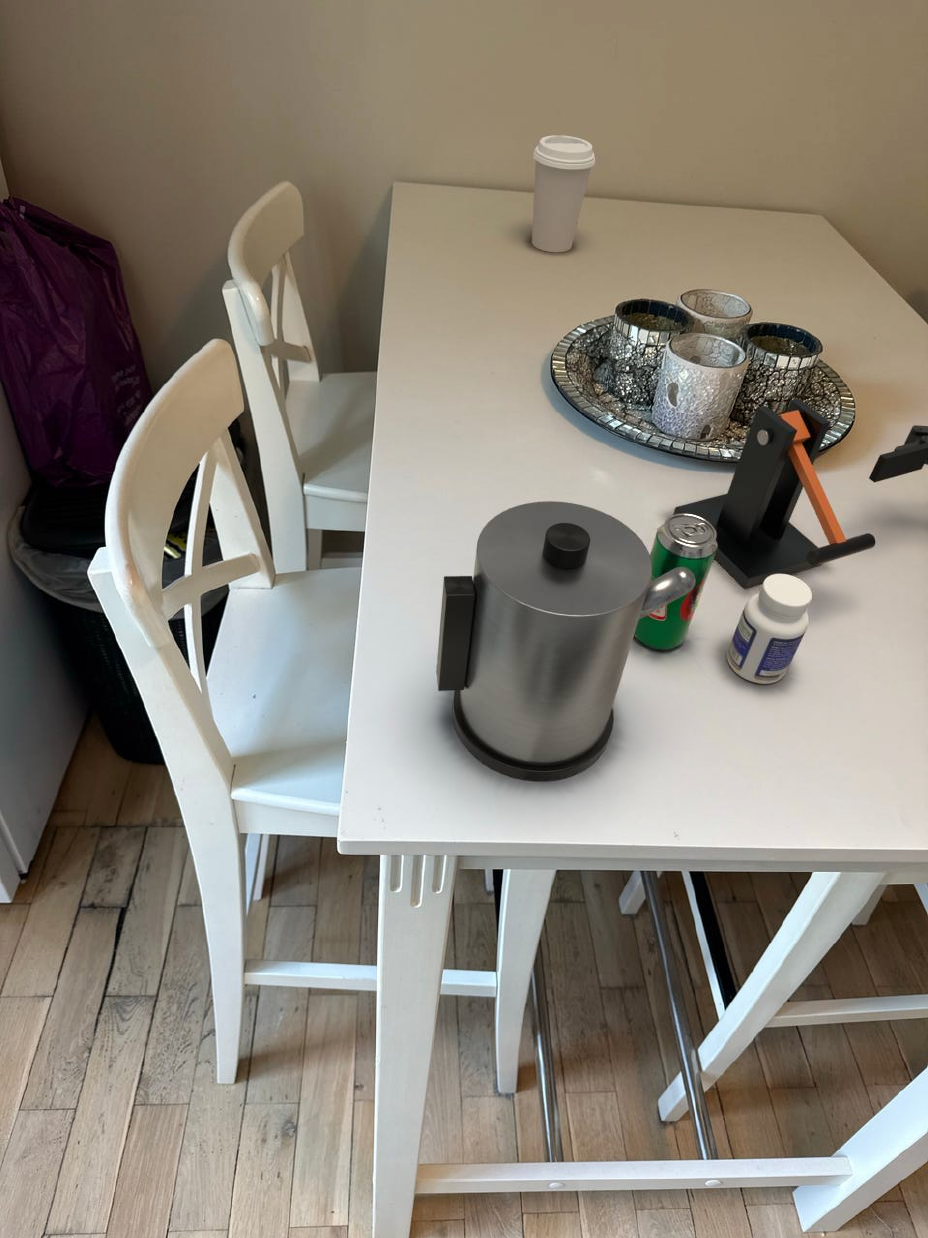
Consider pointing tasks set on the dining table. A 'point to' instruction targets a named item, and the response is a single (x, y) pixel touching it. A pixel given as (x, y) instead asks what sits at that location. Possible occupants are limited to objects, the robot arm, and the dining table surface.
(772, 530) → the switch bracket
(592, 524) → the kettle
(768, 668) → the pill bottle
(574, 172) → the coffee cup
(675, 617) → the soda can
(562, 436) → the dining table surface
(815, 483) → the orange switch lever
